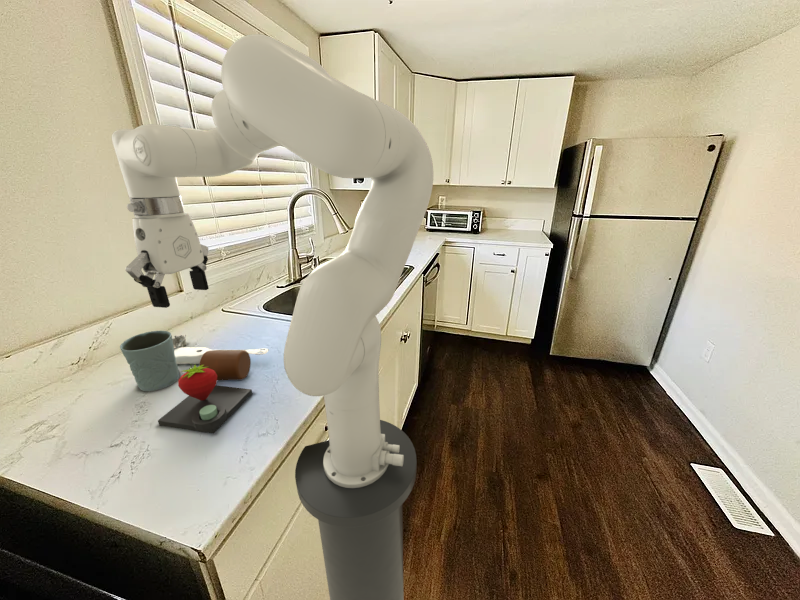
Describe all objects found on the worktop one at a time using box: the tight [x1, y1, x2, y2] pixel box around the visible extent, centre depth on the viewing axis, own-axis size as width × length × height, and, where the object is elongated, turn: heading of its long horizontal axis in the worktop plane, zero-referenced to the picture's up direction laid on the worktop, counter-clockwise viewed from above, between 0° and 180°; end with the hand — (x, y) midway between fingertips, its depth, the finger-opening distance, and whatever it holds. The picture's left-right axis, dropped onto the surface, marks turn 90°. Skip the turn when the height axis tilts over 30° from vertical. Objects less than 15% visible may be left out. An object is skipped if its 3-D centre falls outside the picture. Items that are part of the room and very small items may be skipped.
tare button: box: [199, 405, 218, 420], centre depth 66 cm, size 3×3×2 cm
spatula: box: [174, 346, 269, 365], centre depth 92 cm, size 28×6×3 cm, turn 91°
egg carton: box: [172, 334, 187, 349], centre depth 96 cm, size 11×8×4 cm
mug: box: [198, 349, 252, 382], centre depth 85 cm, size 12×8×9 cm
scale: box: [157, 384, 253, 435], centre depth 72 cm, size 14×14×3 cm
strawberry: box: [177, 364, 218, 400], centre depth 72 cm, size 6×8×10 cm
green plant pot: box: [119, 330, 180, 392], centre depth 80 cm, size 10×10×12 cm
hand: (182, 297), depth 64 cm, fingers open, 9 cm apart
